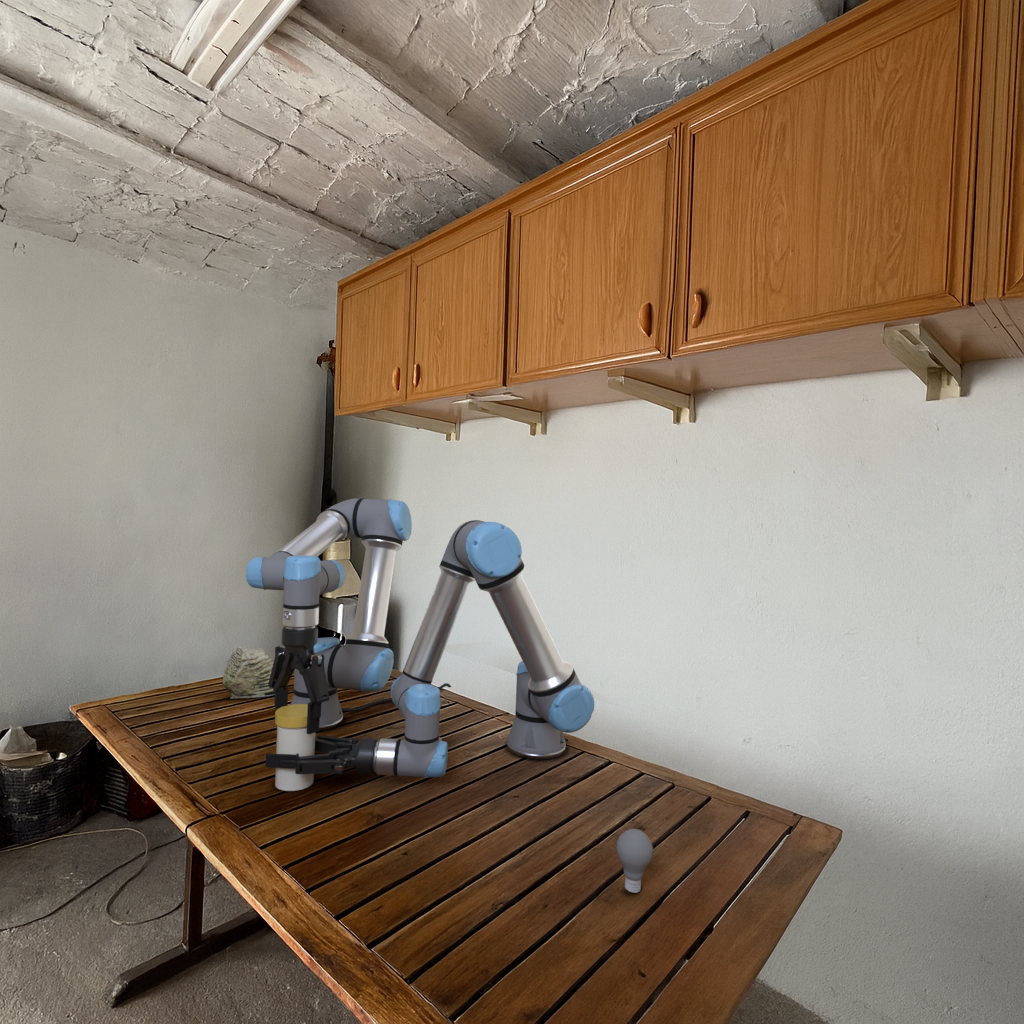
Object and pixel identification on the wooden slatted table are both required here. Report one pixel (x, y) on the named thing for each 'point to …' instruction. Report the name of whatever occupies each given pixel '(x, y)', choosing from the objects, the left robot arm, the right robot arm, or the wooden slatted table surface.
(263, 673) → the fossil
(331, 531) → the left robot arm
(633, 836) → the light bulb
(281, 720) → the lid
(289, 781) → the jar
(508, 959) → the wooden slatted table surface
